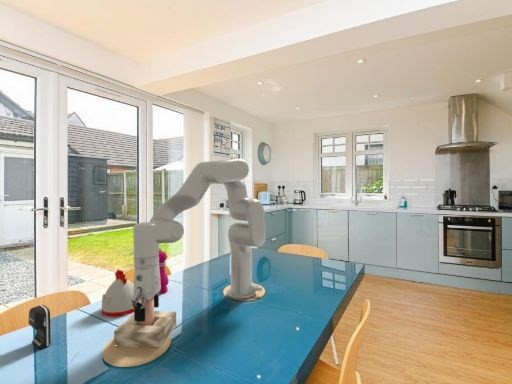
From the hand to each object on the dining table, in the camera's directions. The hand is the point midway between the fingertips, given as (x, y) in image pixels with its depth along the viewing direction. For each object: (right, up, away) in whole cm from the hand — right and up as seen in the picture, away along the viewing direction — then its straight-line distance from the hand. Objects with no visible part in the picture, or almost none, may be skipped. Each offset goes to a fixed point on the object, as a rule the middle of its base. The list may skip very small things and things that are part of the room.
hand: (147, 313), depth 91 cm
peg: (0, -7, 0) cm, 7 cm away
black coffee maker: (-31, -7, -6) cm, 32 cm away
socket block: (0, -7, 0) cm, 7 cm away
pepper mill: (-8, -6, +37) cm, 38 cm away
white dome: (-18, -7, +20) cm, 27 cm away
